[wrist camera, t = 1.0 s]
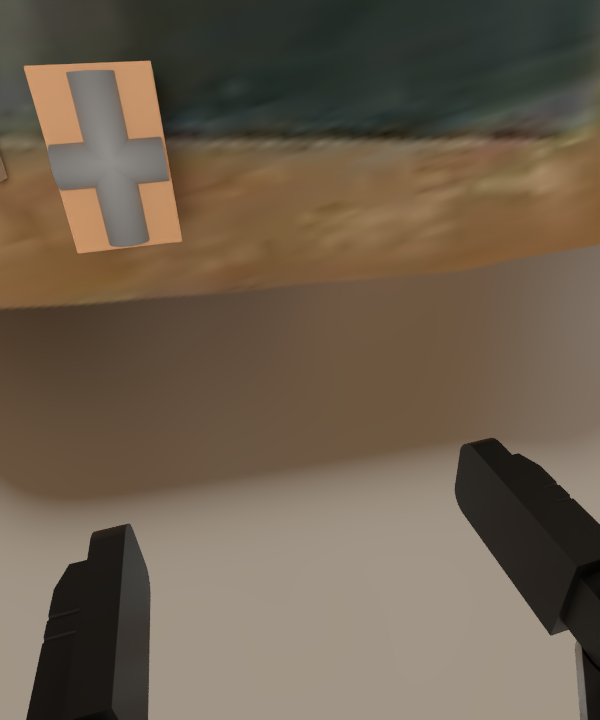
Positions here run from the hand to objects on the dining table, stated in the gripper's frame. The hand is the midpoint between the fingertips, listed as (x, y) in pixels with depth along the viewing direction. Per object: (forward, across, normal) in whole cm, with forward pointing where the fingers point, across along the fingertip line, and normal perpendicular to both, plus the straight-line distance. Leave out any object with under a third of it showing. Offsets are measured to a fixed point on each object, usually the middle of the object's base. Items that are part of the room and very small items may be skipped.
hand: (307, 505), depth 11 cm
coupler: (+21, +4, -6) cm, 22 cm away
